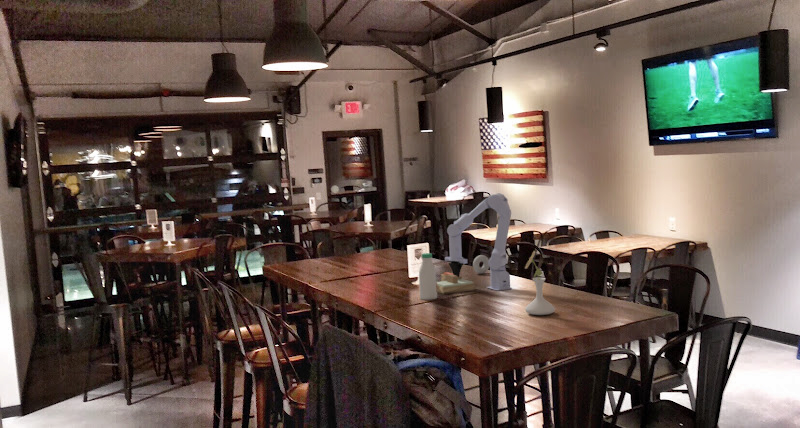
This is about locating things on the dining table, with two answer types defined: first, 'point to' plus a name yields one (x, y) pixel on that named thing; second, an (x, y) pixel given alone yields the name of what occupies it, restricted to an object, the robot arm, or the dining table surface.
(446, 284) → the pale green plate
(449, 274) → the salmon orange bar
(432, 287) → the milk bottle
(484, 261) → the donut
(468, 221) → the robot arm
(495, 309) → the dining table surface
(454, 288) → the wooden box
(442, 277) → the key channel
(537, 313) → the flower in vase
